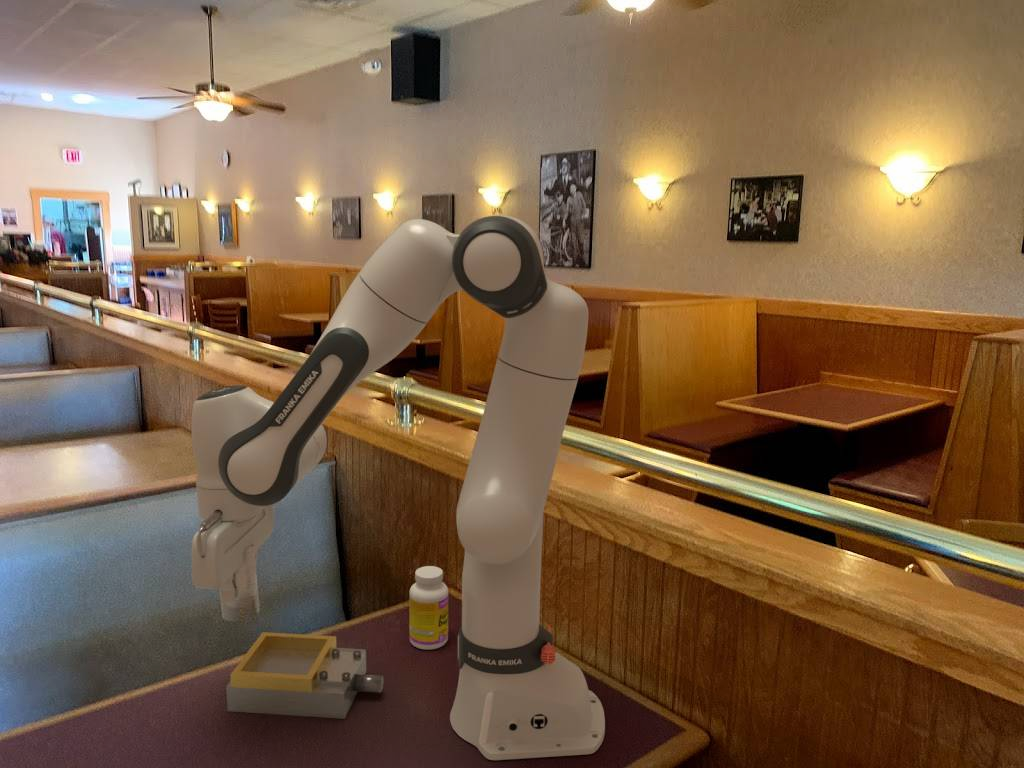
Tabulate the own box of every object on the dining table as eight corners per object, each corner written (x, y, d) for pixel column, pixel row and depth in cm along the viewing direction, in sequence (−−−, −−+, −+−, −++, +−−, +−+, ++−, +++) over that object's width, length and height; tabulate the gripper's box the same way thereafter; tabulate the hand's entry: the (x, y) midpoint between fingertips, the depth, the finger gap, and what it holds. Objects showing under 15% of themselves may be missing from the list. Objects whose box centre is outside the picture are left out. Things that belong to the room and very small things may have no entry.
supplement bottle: (441, 653, 130) (442, 582, 127) (404, 648, 131) (403, 578, 129) (452, 633, 136) (453, 565, 134) (416, 629, 138) (416, 561, 135)
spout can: (265, 604, 116) (259, 537, 114) (251, 621, 111) (245, 552, 109) (217, 603, 116) (210, 537, 114) (201, 620, 111) (193, 551, 109)
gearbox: (390, 673, 124) (390, 639, 123) (371, 720, 112) (371, 683, 111) (259, 665, 125) (258, 631, 124) (227, 711, 114) (225, 674, 112)
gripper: (221, 527, 100) (230, 625, 102) (278, 476, 120) (285, 560, 122) (173, 526, 100) (184, 624, 103) (238, 476, 120) (246, 560, 123)
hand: (239, 589), depth 113 cm, fingers closed on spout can, 5 cm apart
